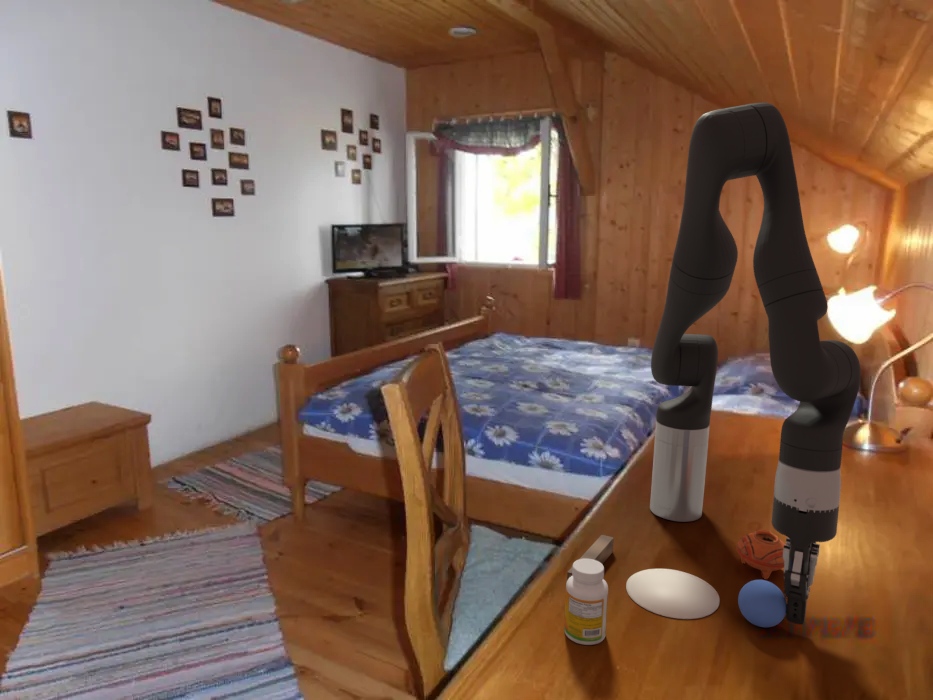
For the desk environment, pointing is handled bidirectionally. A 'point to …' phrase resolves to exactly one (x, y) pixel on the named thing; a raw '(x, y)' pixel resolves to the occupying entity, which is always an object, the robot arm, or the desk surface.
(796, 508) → the robot arm
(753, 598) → the ball
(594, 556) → the wall
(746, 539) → the pot
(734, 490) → the desk surface
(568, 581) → the supplement bottle
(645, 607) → the white round plate
